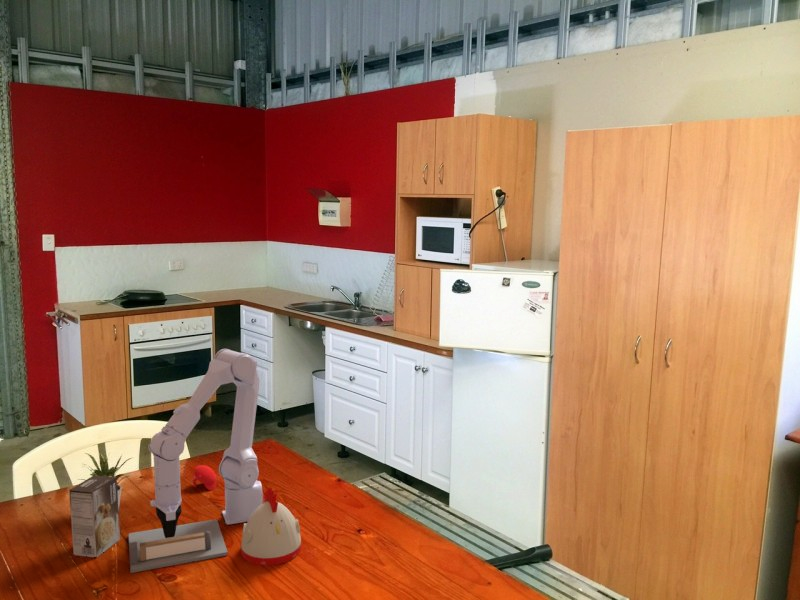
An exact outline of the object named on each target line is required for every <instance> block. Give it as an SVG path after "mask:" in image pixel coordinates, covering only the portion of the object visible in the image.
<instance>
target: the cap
mask: <svg viewBox="0 0 800 600" xmlns="http://www.w3.org/2000/svg"><path fill="white" fill-rule="evenodd" d="M217 478H218V476H217V475H216V473H215V471H214V470H213V469H212V468H211V467H209V466H208V465H203V464H200V465H197V466H196V467H195V468H194V470H193V476H192V483H193V487H194V488H195V489H196V488H197V483H196V482H197V481H199V483H202V484H203V485H204V487H205V488H206V489H207V490H208V491H213V489H214V490H215V489H216V487H217V483H218V482H217Z"/></svg>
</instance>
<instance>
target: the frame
mask: <svg viewBox="0 0 800 600" xmlns="http://www.w3.org/2000/svg"><path fill="white" fill-rule="evenodd" d="M203 532H204V534H205V549H203V550H198V551H192V552H186V553H181V554H175V555H170V556H164V557H158V558H153V559H147V560H144V561H141V559H140V543H144V542H150V541H155V540H161V539H167V538H165V536H164V532H163V527H159V528H155V529H148V530H142V531H135V532H131V533H130V532H129V533H128V546H129V547H128V548H129V550H128V551H129V567H130V570H129V571H130V574H132V573H137V572H138V573H139V572H143V571H144V572H145V571H149V570H153V569H154V570H155V569H160V568H166V567H172V566H177V565H182V564H188V563H194V562H198V561H204V560H210V559H215V558H219V557H224V556H225V557H226V556H229V555H228V554H229V553H228V552H229V551H228V549H227V546H226V542H225V541H224V540H225V539H224V537H223V534H222V531H221V528H220V525H219V521H218V519H216V518H215V519H209V520H204V521H196V522H191V523H185V524H180V525H179V524H178V525H176V532H175V536H174V537H179V536H185V535H191V534H197V533H203ZM170 538H173V537H170ZM193 561H194V562H193Z"/></svg>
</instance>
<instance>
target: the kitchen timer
mask: <svg viewBox="0 0 800 600" xmlns="http://www.w3.org/2000/svg"><path fill="white" fill-rule="evenodd" d="M274 491H275V490H273V488H272V487H269V488H267V490H265V492H263V498H264V502H263V504H261V505H260V506H259V507H258V508H257V509H256V510H255V511H254V512H253V513H252V515H251V516H250V518H249V520H248V521H247V523H246V522H243V528H242V535H241V537H242V538H241V543H240V544H241V545H240V550H241V552H240V553H241V556H242V557H243V558H244V560H245V561H247V562H249V563H251V564H255V565H256V564H257V565H260V566H261V565H262V566H263V565H264V566H269V565H278V564H283V563H286V562H288V561H291V560H292V559H294V558H296V557H297V556H298V555H299V554H300V553H301V550H302V538H301V528H300V524H299V523H300V522H299V519H298V518H295V516H294V515H293V514H292V512H291V511H290V510H289V509H288V507H286V506H285V505H284V504H282V503H281V502H278V501H277V494H276V493H274Z"/></svg>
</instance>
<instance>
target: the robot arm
mask: <svg viewBox="0 0 800 600" xmlns="http://www.w3.org/2000/svg"><path fill="white" fill-rule="evenodd" d="M257 366H258V362H257V361H256V359H254V357H252V356H251V355H250V354H249V353H242V352H238V351H235V350H231V349H229V348H222V349H219V350H218V351H217V352H216V354H215V355H214V357H213V358H212V359H211V360H210V362H209V365H208V370H207V372H206V373H205V374H204V376H203V378H202V380H201V382H200V383H199V385H198V386H197V387H196V389H195V391H194V392H193V393H192V395H191V397H190V398H189V400H188V401H187V402H186V403H183V404H180V405H179V406H178V407H175V409H174V410H173V412H172V413H173V415H172V416H171V417H169V418H170V419H169V420H168V421H167V423H166V424H165V425H164V426H162V428H161V430H160V431H158V432H156V433H155V434H154V435H153V436H152V437H151V440H150V443H149V444H148V445H147V447H148V450H149V452H150V453H151V454H152V456H153V471H154V494H155V495H154V497H155V499H154V500H153V499H152V500H150V501H149V504H150V507H155V513H156V516H157V518H158V519H159V521H160V524H161V526H162V527H161V528H163V532H164V536H165V538H170V537H174V536H175V532H176V526H177V524H178V521H179V519H180V516H181V515H182V506H181V504H182V502H183V500H182V499H183V498H182V495H181V494H182V492H181V490H182V489H181V469H180V468H181V466H180V456H181V455H182V454H183V453H184V450H185V442H187V440H186V439H187V437H188V436H189V435H190V434H191V432H192V431H193V429H194V427H196V425H197V424H198V422H199V421H200V419H201V412H200V411H201V410H202V409H203V407H204V406H205V405H206V404H207V402H208V401H209V400H210V398H211V397H212V396H213V395H214V393H216V391H218V388H219V387H221V386H223V385H227V384H230V383H232V384H234V385H235V386H236V392H235V393H236V394H235V403H234V411H233V418H232V429H231V437H230V444H229V445H230V446H229V447H227V448H226V449H225V450H224V451H223V455H222V460H221V461H220V463H219V466H218V473H219V475H220V476H221V477H222V478H223V483H224V502H225V503H224V504H225V505H224V508H225V510H222V511H221V513H222V517H223V519H224V522H225V524H226V525H233V524H234V525H235V524H239V523H240V524H241V523H246V522H248V520H249V518H250V516H251V515H252V513H253V512H254V511H255V510H256V509H257V508H258V507H259V506H260V505H261V504H263V503H264V492H263V486H262V482H261V481H260V480H258V478H259V475H260V471H259V466H258V457H257V454H255V452H254V449H253V448H252V447H253V441H254V434H255V433H254V431H255V423H256V414H257V407H258V398H259V390H260V377H259V374H258V371H257Z"/></svg>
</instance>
